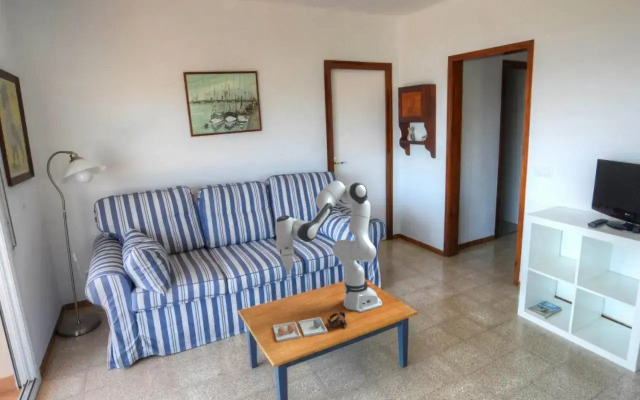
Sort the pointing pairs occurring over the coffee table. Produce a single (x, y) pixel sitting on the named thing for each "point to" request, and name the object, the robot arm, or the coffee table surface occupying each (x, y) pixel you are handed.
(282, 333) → the terracotta ball
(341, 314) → the pottery mug
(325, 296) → the coffee table surface
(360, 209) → the robot arm
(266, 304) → the coffee table surface
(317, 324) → the ball grey
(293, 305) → the coffee table surface
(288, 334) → the dish
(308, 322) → the dish
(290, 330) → the terracotta ball
